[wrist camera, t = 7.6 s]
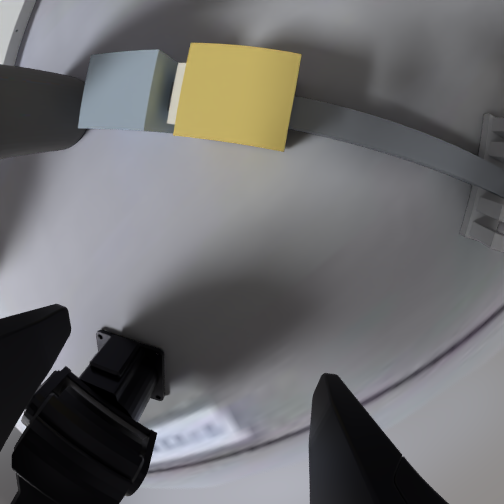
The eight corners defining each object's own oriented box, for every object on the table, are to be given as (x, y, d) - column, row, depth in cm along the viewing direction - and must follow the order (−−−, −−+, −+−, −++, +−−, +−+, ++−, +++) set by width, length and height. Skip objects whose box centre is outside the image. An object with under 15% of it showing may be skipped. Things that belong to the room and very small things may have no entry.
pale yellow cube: (297, 78, 15) (301, 54, 11) (284, 151, 17) (283, 151, 12) (215, 67, 15) (190, 42, 11) (202, 138, 17) (172, 135, 12)
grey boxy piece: (510, 130, 14) (540, 131, 11) (486, 242, 17) (513, 259, 14) (483, 114, 14) (513, 112, 11) (459, 233, 17) (486, 250, 14)
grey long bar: (506, 158, 15) (544, 164, 11) (494, 213, 16) (530, 230, 12) (123, 69, 16) (87, 55, 12) (112, 129, 18) (74, 128, 13)
